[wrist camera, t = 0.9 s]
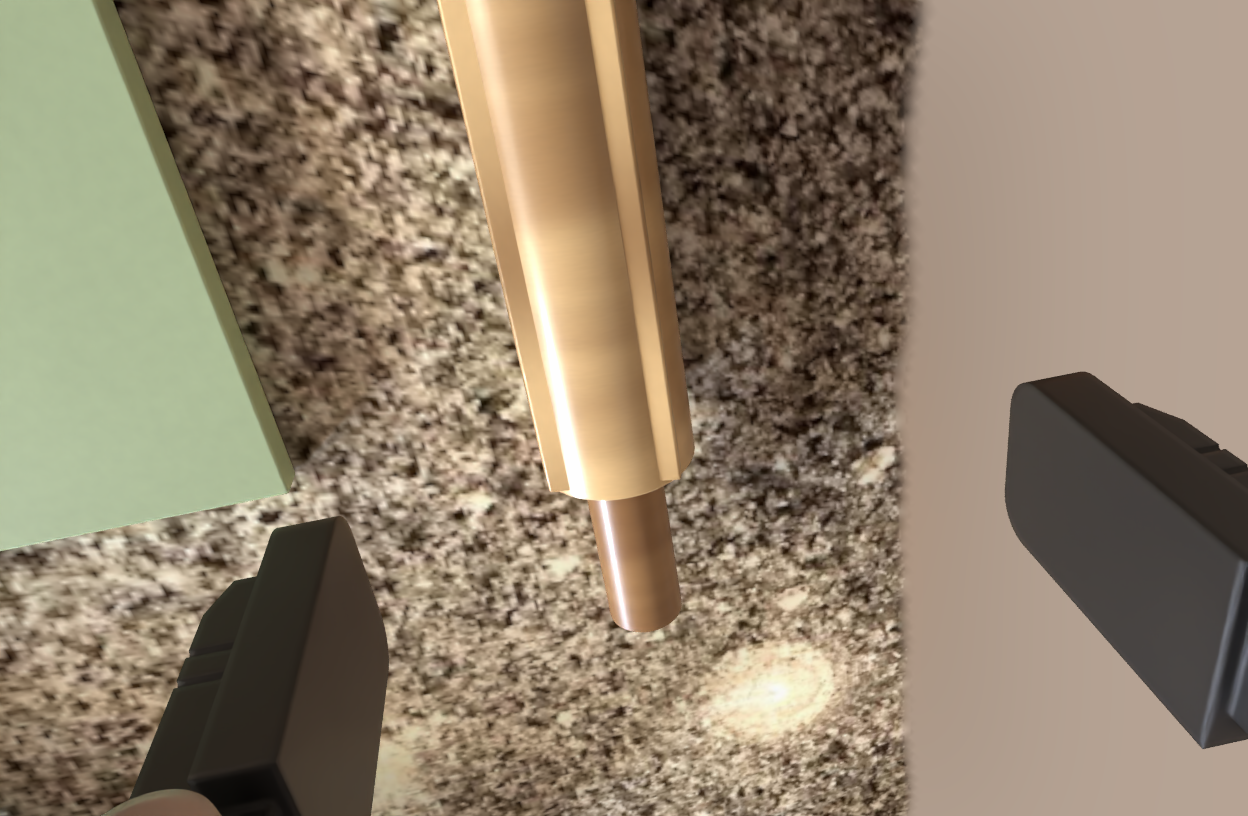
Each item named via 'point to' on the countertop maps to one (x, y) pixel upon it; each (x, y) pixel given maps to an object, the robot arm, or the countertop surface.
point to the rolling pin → (583, 267)
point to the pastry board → (109, 301)
